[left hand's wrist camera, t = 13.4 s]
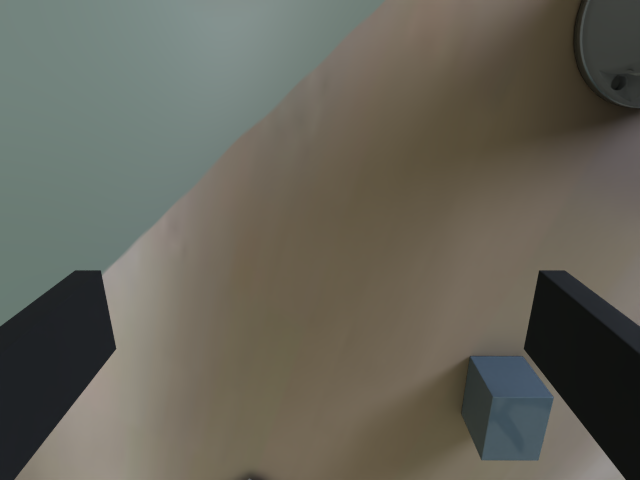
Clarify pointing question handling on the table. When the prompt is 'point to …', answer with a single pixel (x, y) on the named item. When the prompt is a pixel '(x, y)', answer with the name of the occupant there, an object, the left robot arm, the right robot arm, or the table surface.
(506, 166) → the table surface
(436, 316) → the table surface
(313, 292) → the table surface
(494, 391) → the brick
